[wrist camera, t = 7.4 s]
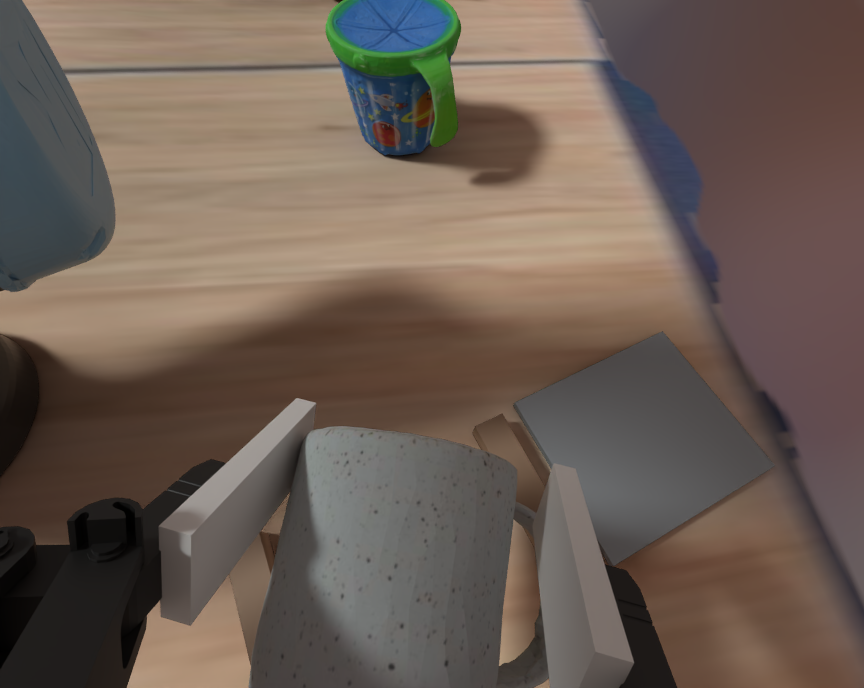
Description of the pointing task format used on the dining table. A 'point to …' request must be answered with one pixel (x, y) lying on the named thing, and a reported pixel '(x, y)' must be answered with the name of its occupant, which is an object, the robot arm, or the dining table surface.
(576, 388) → the slate mat
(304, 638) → the ceramic mug
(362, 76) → the snack cup
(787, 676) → the dining table surface
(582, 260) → the dining table surface
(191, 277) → the dining table surface
